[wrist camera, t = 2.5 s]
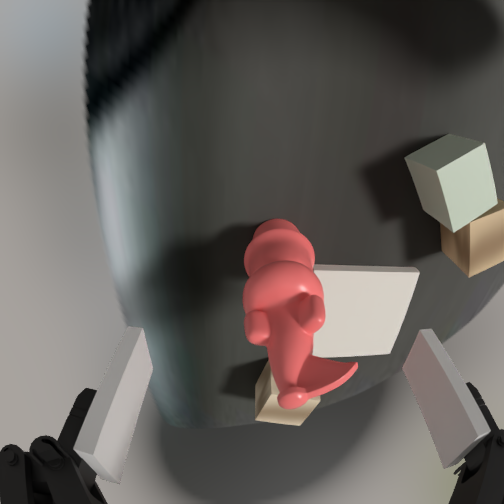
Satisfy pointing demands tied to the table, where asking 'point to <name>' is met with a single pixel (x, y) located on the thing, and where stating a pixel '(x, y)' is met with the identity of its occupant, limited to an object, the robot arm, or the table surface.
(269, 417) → the maple block
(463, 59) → the table surface
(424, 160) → the sage block
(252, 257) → the figurine
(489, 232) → the oak block
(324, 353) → the coaster
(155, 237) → the table surface
